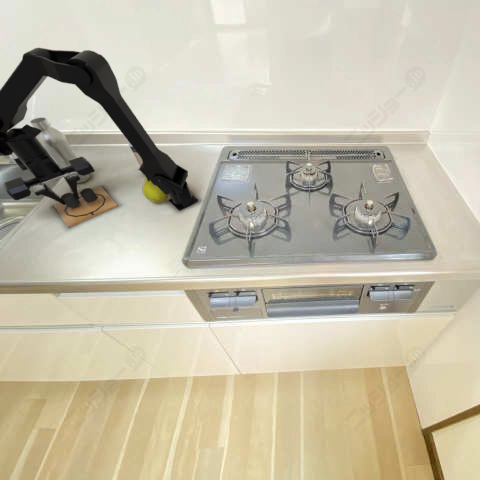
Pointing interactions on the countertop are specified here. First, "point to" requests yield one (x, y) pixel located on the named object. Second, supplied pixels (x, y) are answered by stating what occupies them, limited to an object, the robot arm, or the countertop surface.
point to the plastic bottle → (56, 144)
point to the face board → (86, 208)
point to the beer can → (136, 155)
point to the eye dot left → (70, 200)
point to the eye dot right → (88, 195)
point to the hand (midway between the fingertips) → (71, 201)
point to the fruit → (153, 192)
